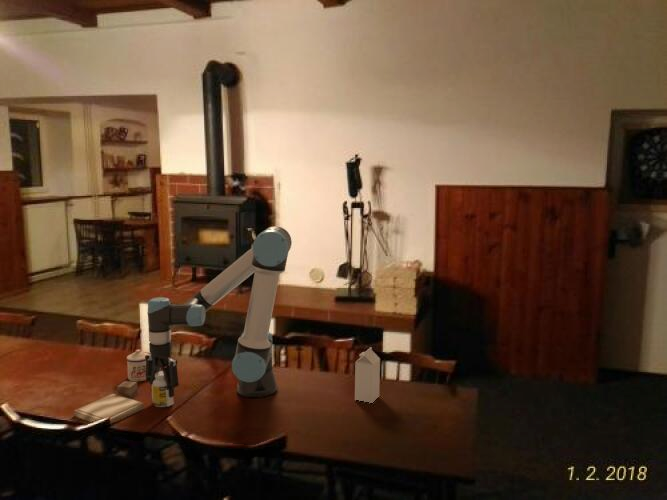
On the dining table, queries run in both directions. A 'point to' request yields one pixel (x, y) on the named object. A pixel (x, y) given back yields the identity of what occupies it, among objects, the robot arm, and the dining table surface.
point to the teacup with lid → (136, 366)
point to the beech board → (109, 408)
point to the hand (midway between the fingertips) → (162, 402)
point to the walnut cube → (127, 389)
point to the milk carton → (367, 377)
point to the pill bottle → (159, 390)
